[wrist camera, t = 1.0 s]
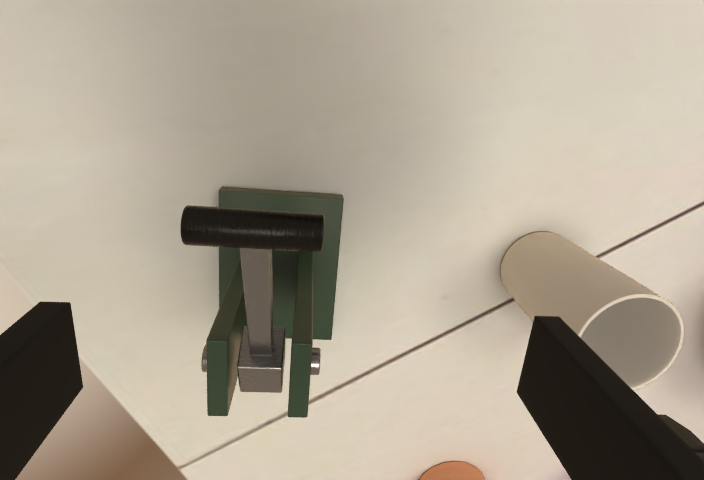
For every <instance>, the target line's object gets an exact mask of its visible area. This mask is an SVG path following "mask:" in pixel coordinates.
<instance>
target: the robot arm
mask: <svg viewBox="0 0 704 480" xmlns="http://www.w3.org/2000/svg"><path fill="white" fill-rule="evenodd" d="M82 388H83V384H82V377H81V370H80V364H79V357H78V350H77V344H76V337H75V331H74V324H73V317H72V311H71V304H70V303H68V302H39V303H38V304H37V305H36V306H34V307H33V308H32V309H31V310H30V311H29V312H27V313H26V314H25V315H24V316H23V317H21V318H20V319H19V320H18V321H17V322H15V323H14V324H13V325H12V326H11V327H9V328H8V329H7V330H6V331H5V332H4V333H2V334H1V335H0V480H15V479H16V478H17V476H18V475H19V473H20V472H21V471H22V469H23V468H24V467H25V465H26V464H27V462H28V461H29V460H30V459H31V457H32V456H33V454H34V453H35V452H36V450H37V449H38V448H39V446H40V445H41V444H42V442H43V441H44V439H45V438H46V437H47V435H48V434H49V433H50V431H51V430H52V429H53V427H54V426H55V424H56V423H57V422H58V421H59V419H60V418H61V416H62V415H63V414H64V412H65V411H66V410H67V408H68V407H69V406H70V404H71V403H72V402H73V400H74V399H75V397H76V396H77V395H78V393H79V392H80V391H81V389H82ZM517 393H518V395H519V397H520V398H521V400H522V401H523V403H524V405H525V406H526V408H527V409H528V411H529V413H530V414H531V416H532V417H533V419H534V421H535V422H536V424H537V425H538V427H539V428H540V430H541V432H542V433H543V435H544V436H545V438H546V440H547V441H548V443H549V444H550V446H551V448H552V449H553V451H554V452H555V454H556V455H557V457H558V459H559V460H560V462H561V463H562V465H563V467H564V468H565V470H566V471H567V473H568V475H569V476H570V478H571V479H572V480H704V444H703V443H702V442H701V441H700V440H699V439H698V438H697V437H696V436H695V435H694V434H693V433H692V432H691V431H690V430H688V429H687V428H685V427H684V426H682V425H681V424H679V423H677V422H676V421H674V420H673V419H671V418H670V417H668V416H667V415H657V414H656V413H655V412H654V411H653V410H652V409H651V408H650V407H649V406H648V405H647V404H646V403H645V402H644V401H643V400H642V399H641V398H640V397H639V396H638V395H637V394H636V393H635V392H634V391H633V390H632V389H631V388H630V387H629V386H628V385H627V384H626V383H625V382H624V381H623V380H622V379H621V378H620V377H619V376H618V375H617V374H616V373H615V372H614V371H613V370H612V369H611V368H610V367H609V366H608V365H607V364H606V363H605V362H604V361H603V360H602V359H601V358H600V357H599V356H598V355H597V354H596V353H595V352H594V351H593V350H592V349H591V348H590V347H589V346H588V345H587V344H586V343H585V342H584V341H583V340H582V339H581V338H580V337H579V336H578V335H577V334H576V333H575V332H574V331H573V330H572V329H571V328H570V327H569V326H568V325H567V324H566V323H565V322H564V321H563V320H562V319H561V318H560V317H559V316H535V317H534V321H533V326H532V330H531V334H530V338H529V343H528V347H527V351H526V355H525V359H524V364H523V368H522V372H521V376H520V381H519V385H518V389H517Z"/></svg>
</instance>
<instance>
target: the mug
mask: <svg viewBox="0 0 704 480" xmlns="http://www.w3.org/2000/svg"><path fill="white" fill-rule="evenodd" d="M501 279H502V282H503V285H504V287H505V288H506V290H507V291H508V292H509V293H510V295H511V296H512V297H513V298H514V299H515V301H516V302H517V303H518V305H519V306H520V307H521V308H522V310H523V311H524V312H525V313H526V314H527V316H528V317H529V318H530V319H531V320H532V321H534V317H535V316H559V317H560V318H561V319H562V320H563V321H564V322H565V323H566V324H567V325H568V326H569V327H570V328H571V329H572V330H573V331H574V332H575V333H576V334H577V335H578V336H579V337H580V338H581V339H582V340H583V341H584V342H585V343H586V344H587V345H588V346H589V347H590V348H591V349H592V350H593V351H594V352H595V353H596V354H597V355H598V356H599V357H600V358H601V359H602V360H603V361H604V362H605V363H606V364H607V365H608V366H609V367H610V368H611V369H612V370H613V371H614V372H615V373H616V374H617V375H618V376H619V377H620V378H621V379H622V380H623V381H624V382H625V383H626V384H627V385H628V386H629V387H630V388H631V389H632V390H633V391H634V390H637V389H639V388H641V387H644V386H646V385H647V384H649V383H651V382H652V381H654V380H655V379H657V378H658V377H659V376H661V375H662V374H663V373H664V372H665V371H666V370H667V369H668V368H669V367H670V365H671V364H672V363H673V361H674V360H675V358H676V357H677V355H678V353H679V351H680V348H681V346H682V342H683V337H684V325H683V320H682V317H681V315H680V313H679V311H678V310H677V309H676V307H675V306H674V305H673V304H672V303H670V302H669V301H667V300H666V299H664V298H662V297H660V296H658V295H657V294H656V293H654V292H653V291H651V290H650V289H648V288H647V287H645V286H643V285H642V284H640V283H638V282H637V281H635V280H633V279H632V278H630V277H628V276H627V275H625V274H623V273H622V272H620V271H618V270H617V269H615V268H613V267H612V266H610V265H608V264H607V263H605V262H603V261H602V260H600V259H598V258H597V257H595V256H593V255H592V254H590V253H588V252H587V251H585V250H584V249H582V248H580V247H579V246H577V245H575V244H573V243H572V242H570V241H568V240H566V239H564V238H563V237H561V236H559V235H557V234H554V233H551V232H535V233H531V234H528V235H526V236H524V237H522V238H520V239H519V240H518V241H516V242H515V243H514V244H513V245H512V246H511V247H510V248H509V250H508V251H507V252H506V254H505V256H504V258H503V261H502V264H501Z"/></svg>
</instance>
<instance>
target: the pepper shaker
mask: <svg viewBox="0 0 704 480" xmlns="http://www.w3.org/2000/svg"><path fill="white" fill-rule="evenodd" d="M419 480H485V479H484V476H483V474H482V472H481V471H479V470H478V469H477V468H476V467H475V466H473V465H470V464H468V463H465V462H457V461H454V462H446V463H442V464H439V465H437V466H434V467H432V468H431V469H429V470H428V471H427V472H425V473H424V474H423V475H422V476H421V478H420V479H419Z"/></svg>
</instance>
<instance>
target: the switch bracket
mask: <svg viewBox="0 0 704 480" xmlns="http://www.w3.org/2000/svg"><path fill="white" fill-rule="evenodd" d="M219 207H221V208H237V209H252V210H268V211H283V212H299V213H314V214H323V215H324V239H323V249H322V252H303V251H285V250H272V272H273V327H285V338H292V347H291V365H290V384H289V403H288V417H307V415H308V401H309V386H310V375H319V370H320V348H312V339H322V340H331V337H332V326H333V314H334V302H335V291H336V279H337V268H338V256H339V244H340V233H341V221H342V209H343V196H342V195H334V194H320V193H305V192H291V191H276V190H262V189H247V188H233V187H221V189H220V190H219ZM243 326H247V319H246V309H245V299H244V288H243V278H242V268H241V257H240V248H231V247H219V311H218V313H217V316H216V318H215V321H214V323H213V326H212V328H211V331H210V333H209V336H208V338H207V340H206V345H205V347H204V349H203V354H202V371H203V372H207V404H208V416H227V415H228V412H229V409H230V405H231V401H232V397H233V393H234V389H235V385H236V381H237V377H238V371H237V362H238V356H239V349H240V343H241V336H242V330H243Z"/></svg>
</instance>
